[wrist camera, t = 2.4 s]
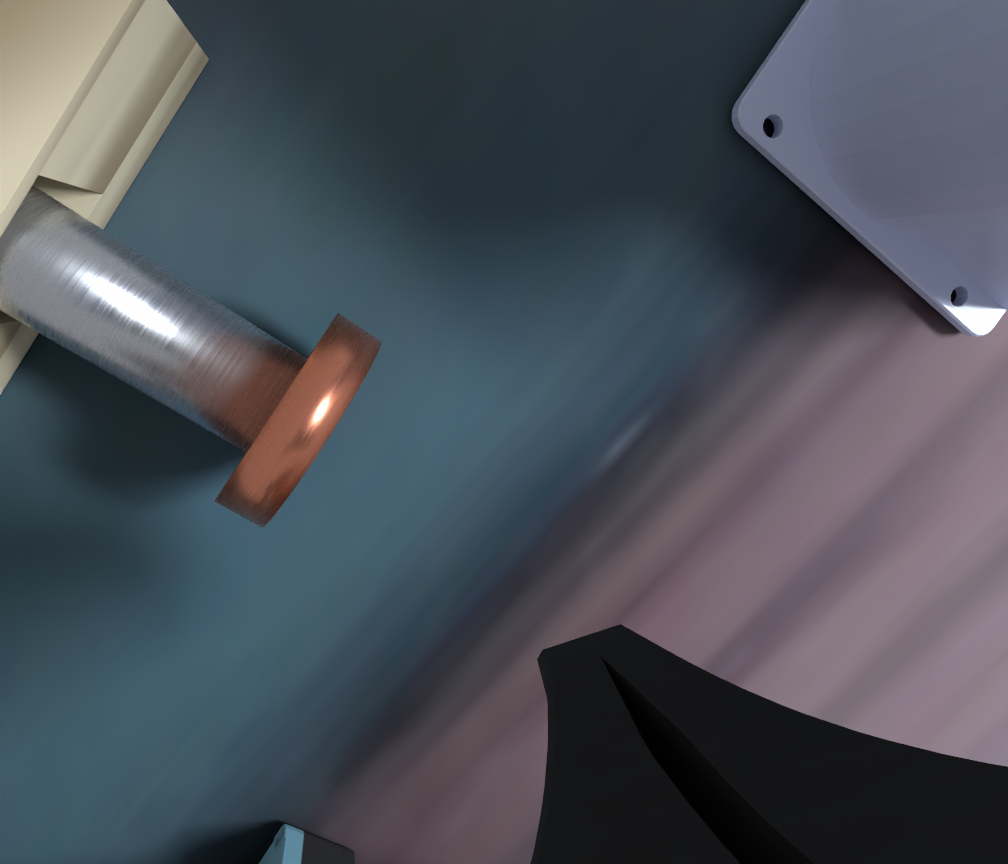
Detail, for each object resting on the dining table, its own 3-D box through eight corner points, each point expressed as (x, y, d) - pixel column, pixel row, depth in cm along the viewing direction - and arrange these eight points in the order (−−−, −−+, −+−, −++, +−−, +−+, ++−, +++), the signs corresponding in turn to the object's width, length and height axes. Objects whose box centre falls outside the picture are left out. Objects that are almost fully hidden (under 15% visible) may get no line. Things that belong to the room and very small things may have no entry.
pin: (379, 332, 17) (384, 353, 13) (274, 489, 17) (246, 560, 13) (-176, -35, 13) (-421, -175, 9) (-292, 167, 14) (-580, 121, 10)
